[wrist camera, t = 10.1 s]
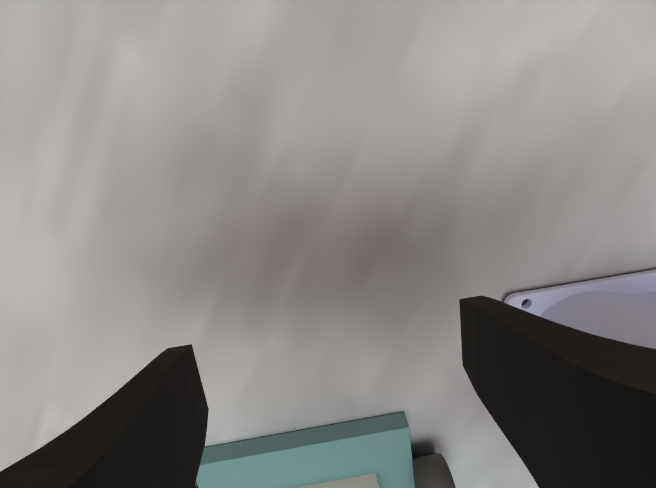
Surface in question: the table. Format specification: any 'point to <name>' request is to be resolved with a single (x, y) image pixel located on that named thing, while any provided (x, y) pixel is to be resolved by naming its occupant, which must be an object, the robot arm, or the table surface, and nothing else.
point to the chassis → (326, 459)
